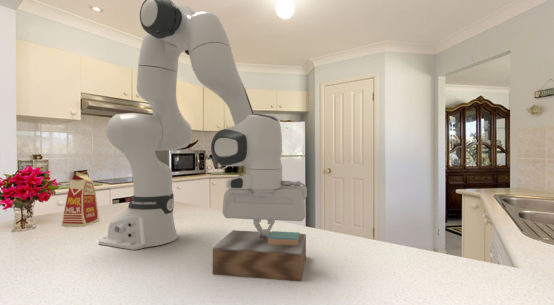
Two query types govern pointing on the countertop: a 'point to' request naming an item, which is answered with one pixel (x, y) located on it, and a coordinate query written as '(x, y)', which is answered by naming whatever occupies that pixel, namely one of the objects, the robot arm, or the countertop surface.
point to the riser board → (258, 257)
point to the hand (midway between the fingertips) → (264, 237)
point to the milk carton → (80, 202)
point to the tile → (284, 238)
